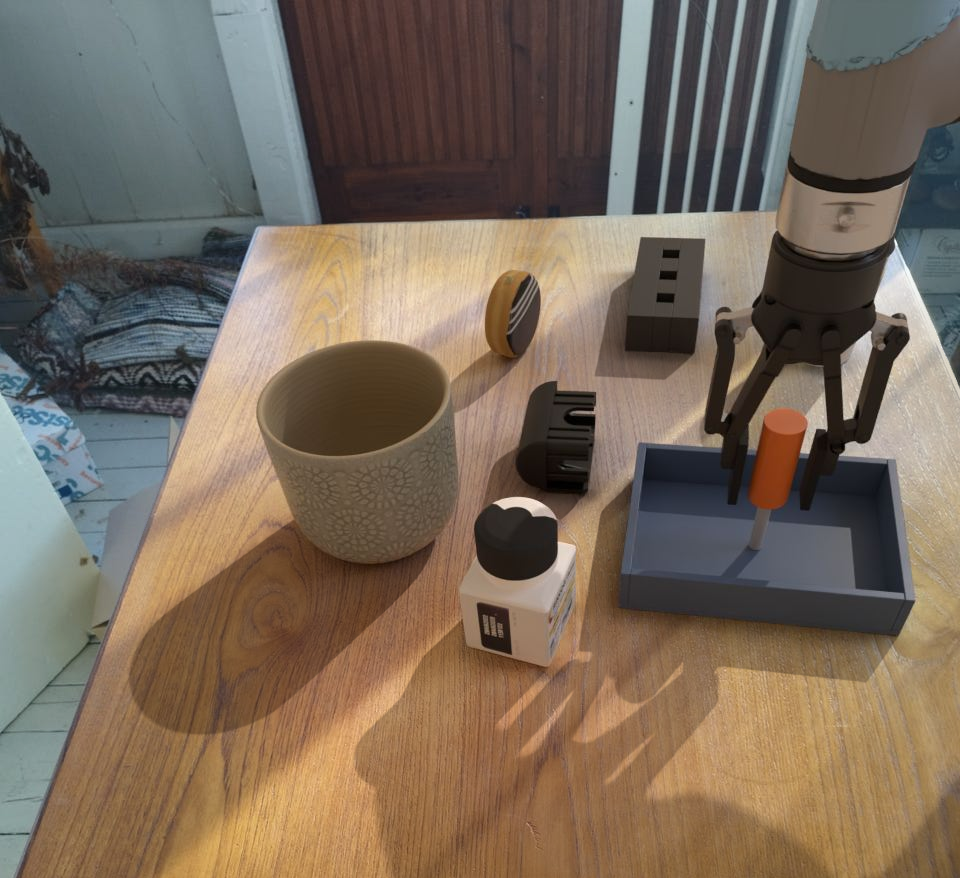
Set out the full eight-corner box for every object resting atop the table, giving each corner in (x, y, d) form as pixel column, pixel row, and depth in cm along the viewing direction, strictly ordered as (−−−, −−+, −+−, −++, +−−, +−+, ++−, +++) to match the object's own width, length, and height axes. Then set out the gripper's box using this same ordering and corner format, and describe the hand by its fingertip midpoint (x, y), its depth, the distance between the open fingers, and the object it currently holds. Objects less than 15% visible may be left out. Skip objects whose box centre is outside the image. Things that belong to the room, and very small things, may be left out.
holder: (701, 272, 111) (705, 238, 108) (694, 353, 101) (699, 318, 97) (638, 270, 113) (640, 236, 109) (624, 350, 102) (627, 315, 99)
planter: (499, 502, 87) (489, 371, 75) (397, 613, 79) (367, 484, 67) (369, 449, 94) (341, 321, 82) (263, 546, 86) (214, 419, 74)
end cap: (529, 432, 94) (527, 378, 89) (595, 434, 93) (597, 380, 88) (516, 494, 88) (513, 441, 83) (587, 498, 87) (588, 444, 82)
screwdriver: (774, 534, 81) (807, 409, 70) (774, 560, 79) (808, 436, 68) (736, 531, 82) (763, 406, 71) (736, 557, 80) (763, 433, 69)
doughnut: (511, 375, 101) (506, 294, 93) (483, 368, 102) (476, 288, 94) (545, 332, 106) (543, 252, 98) (517, 326, 107) (513, 247, 99)
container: (548, 669, 74) (546, 564, 64) (465, 647, 76) (449, 542, 66) (576, 604, 78) (578, 495, 68) (496, 584, 80) (486, 477, 70)
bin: (882, 495, 84) (896, 458, 80) (899, 636, 73) (916, 601, 70) (635, 477, 88) (638, 442, 85) (618, 607, 78) (620, 573, 74)
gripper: (687, 259, 57) (657, 518, 75) (991, 267, 54) (883, 536, 72) (693, 205, 62) (663, 461, 80) (973, 209, 58) (876, 476, 76)
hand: (768, 496), depth 76 cm, fingers open, 5 cm apart
